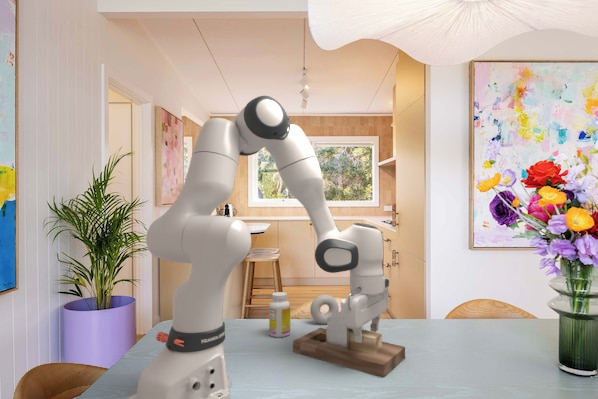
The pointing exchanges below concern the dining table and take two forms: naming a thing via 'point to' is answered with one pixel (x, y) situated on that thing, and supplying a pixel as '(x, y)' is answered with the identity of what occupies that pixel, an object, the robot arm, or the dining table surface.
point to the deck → (350, 354)
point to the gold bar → (365, 341)
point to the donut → (317, 305)
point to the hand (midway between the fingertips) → (367, 335)
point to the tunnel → (337, 331)
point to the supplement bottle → (279, 315)
